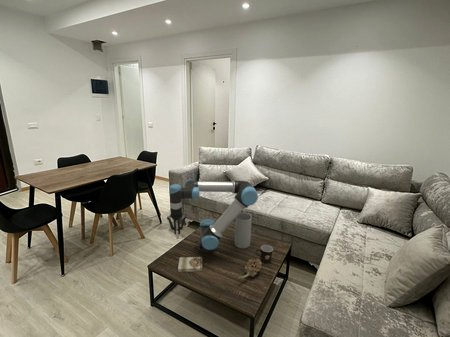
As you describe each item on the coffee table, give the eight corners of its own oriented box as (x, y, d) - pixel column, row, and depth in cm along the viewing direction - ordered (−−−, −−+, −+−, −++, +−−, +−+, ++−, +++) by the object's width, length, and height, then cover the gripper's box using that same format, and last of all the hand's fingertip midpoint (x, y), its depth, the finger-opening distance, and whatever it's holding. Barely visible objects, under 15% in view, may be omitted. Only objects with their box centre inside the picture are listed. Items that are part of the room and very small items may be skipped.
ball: (198, 260, 169) (193, 259, 169) (198, 263, 166) (193, 262, 165) (196, 264, 170) (191, 263, 169) (196, 267, 167) (191, 266, 166)
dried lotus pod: (251, 264, 171) (252, 252, 168) (263, 270, 165) (264, 258, 163) (234, 282, 153) (234, 269, 151) (247, 289, 148) (248, 276, 145)
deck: (202, 259, 174) (202, 256, 174) (202, 271, 163) (202, 268, 162) (179, 260, 173) (179, 257, 172) (178, 272, 162) (178, 268, 161)
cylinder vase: (252, 243, 196) (254, 215, 189) (245, 250, 186) (247, 221, 179) (239, 238, 203) (240, 211, 196) (231, 245, 192) (232, 217, 185)
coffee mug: (273, 258, 178) (274, 246, 175) (270, 265, 170) (271, 253, 167) (258, 254, 182) (258, 242, 180) (254, 260, 175) (255, 248, 172)
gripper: (186, 204, 165) (187, 234, 172) (166, 205, 164) (168, 235, 171) (185, 209, 158) (186, 240, 165) (165, 210, 157) (167, 241, 163)
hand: (177, 238), depth 168 cm, fingers closed
